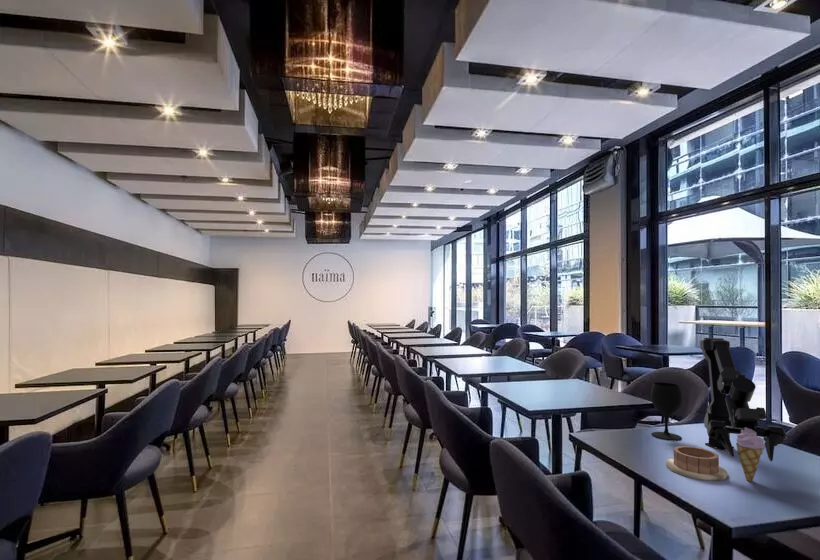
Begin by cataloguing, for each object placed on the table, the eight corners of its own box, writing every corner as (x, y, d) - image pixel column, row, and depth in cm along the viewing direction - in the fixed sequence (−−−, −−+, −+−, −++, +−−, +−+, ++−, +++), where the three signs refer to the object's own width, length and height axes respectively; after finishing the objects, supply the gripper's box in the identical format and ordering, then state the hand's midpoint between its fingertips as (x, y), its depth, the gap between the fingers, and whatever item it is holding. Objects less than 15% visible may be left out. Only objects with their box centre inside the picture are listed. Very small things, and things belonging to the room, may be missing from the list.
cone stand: (690, 458, 150) (690, 441, 150) (740, 476, 135) (740, 458, 135) (654, 464, 145) (654, 446, 145) (701, 483, 130) (701, 464, 130)
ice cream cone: (756, 477, 135) (755, 426, 136) (770, 485, 129) (769, 432, 130) (732, 476, 136) (731, 425, 136) (745, 484, 130) (744, 431, 130)
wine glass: (678, 434, 178) (678, 383, 179) (685, 442, 168) (684, 387, 169) (649, 431, 181) (648, 381, 182) (653, 438, 171) (653, 385, 172)
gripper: (709, 393, 140) (719, 439, 130) (782, 399, 134) (800, 448, 123) (702, 413, 147) (712, 459, 137) (772, 419, 141) (788, 468, 130)
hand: (752, 458), depth 131 cm, fingers open, 9 cm apart
